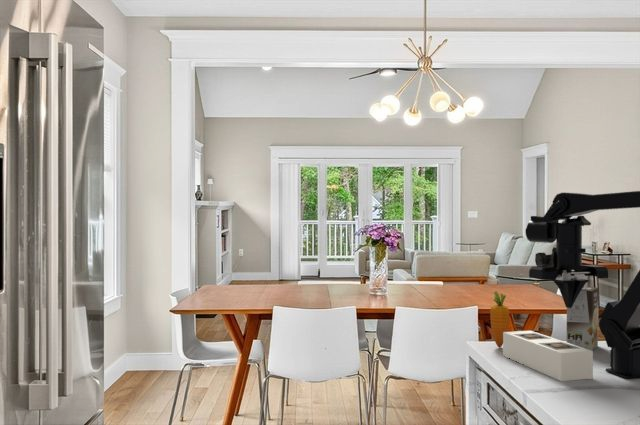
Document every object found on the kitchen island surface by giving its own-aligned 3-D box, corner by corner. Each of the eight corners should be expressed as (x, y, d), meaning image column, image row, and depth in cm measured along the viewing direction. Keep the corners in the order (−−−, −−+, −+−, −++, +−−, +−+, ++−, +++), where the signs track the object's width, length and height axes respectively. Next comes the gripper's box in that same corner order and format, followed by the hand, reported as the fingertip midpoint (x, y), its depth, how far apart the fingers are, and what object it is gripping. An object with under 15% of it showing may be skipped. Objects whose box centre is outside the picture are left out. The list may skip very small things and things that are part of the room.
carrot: (511, 349, 146) (511, 293, 146) (492, 349, 146) (493, 293, 146) (505, 345, 151) (506, 290, 151) (487, 345, 151) (487, 290, 151)
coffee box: (592, 352, 144) (592, 290, 144) (565, 349, 148) (566, 288, 148) (598, 346, 151) (598, 287, 151) (573, 342, 155) (573, 285, 155)
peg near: (571, 372, 124) (571, 346, 124) (557, 373, 123) (557, 347, 123) (560, 368, 128) (560, 343, 128) (546, 369, 127) (546, 344, 127)
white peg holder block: (592, 378, 121) (592, 351, 121) (561, 381, 119) (561, 353, 119) (530, 354, 142) (530, 330, 142) (503, 355, 140) (503, 332, 140)
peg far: (542, 361, 134) (542, 337, 134) (529, 362, 133) (529, 338, 133) (533, 357, 137) (533, 334, 138) (520, 358, 137) (520, 334, 137)
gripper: (578, 241, 146) (578, 301, 146) (515, 242, 141) (515, 303, 141) (610, 244, 135) (610, 308, 135) (543, 244, 130) (543, 311, 130)
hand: (568, 307), depth 136 cm, fingers closed
